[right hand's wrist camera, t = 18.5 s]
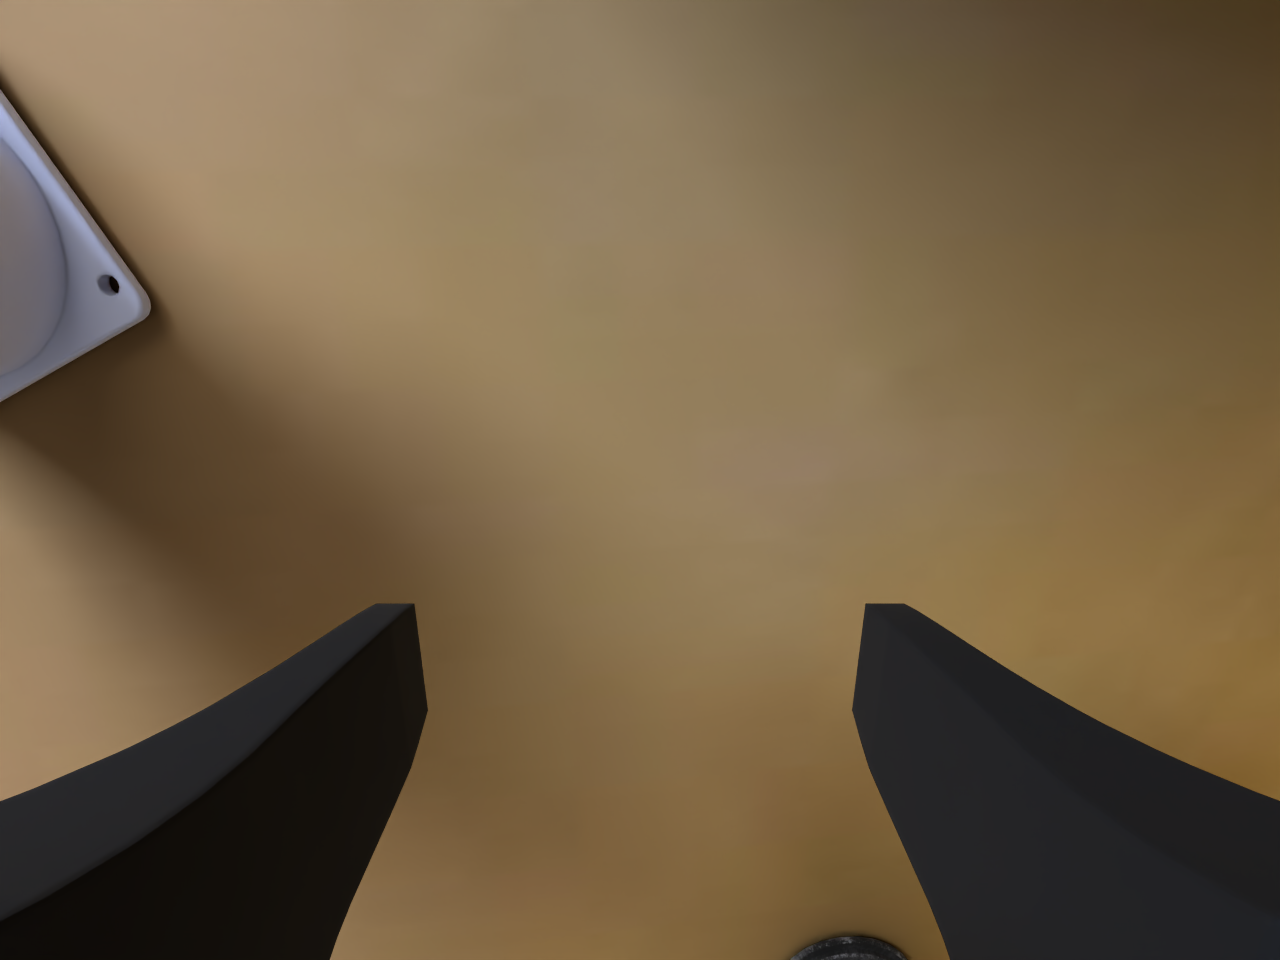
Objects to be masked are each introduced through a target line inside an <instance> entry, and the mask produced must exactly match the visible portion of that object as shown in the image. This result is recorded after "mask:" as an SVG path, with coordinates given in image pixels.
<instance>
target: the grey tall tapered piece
mask: <svg viewBox="0 0 1280 960" xmlns="http://www.w3.org/2000/svg"><path fill="white" fill-rule="evenodd" d="M790 960H907V959H906V957H905V956H904V955H903V953H901V952H900V951H898V950H897V949H896V948H894V947H893V946H891V945H890V944H887V943H884V942H882V941H879V940H876V939H872V938H865V937H858V936H854V937H837V938H833V939H829V940H824V941H820V942H818V943H816V944H814V945H811V946H809V947H807V948H805V949H803V950H802V951H801V952H799V953H798V954H796V955H795V956H794V957H792V958H791V959H790Z"/></svg>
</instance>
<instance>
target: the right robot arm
mask: <svg viewBox="0 0 1280 960" xmlns="http://www.w3.org/2000/svg"><path fill="white" fill-rule="evenodd" d="M111 276H113V277H114V278H115V279H116V280H117V282H118V284H119V292H118V293H116V292H114V291H113V290H112V289H111V287H110V284H109V278H110V277H111ZM150 310H151V304H150V299H149V297H148V295H147V293H146V292H145V291H144V289H143V288H142V286H141V285H140V284H139V282H138V281H137V279H136V278H135V277H134V275H133V274H132V272H131V271H130V270H129V268H128V267H127V265H126V264H125V263H124V261H123V260H122V258H121V257H120V256H119V254H118V253H117V251H116V250H115V249H114V247H113V246H112V245H111V243H110V242H109V240H108V239H107V238H106V236H105V235H104V233H103V232H102V231H101V229H100V228H99V226H98V225H97V224H96V222H95V221H94V219H93V218H92V217H91V215H90V214H89V212H88V211H87V210H86V208H85V207H84V205H83V204H82V203H81V201H80V200H79V198H78V197H77V196H76V194H75V193H74V192H73V190H72V189H71V187H70V186H69V185H68V183H67V182H66V180H65V179H64V178H63V176H62V175H61V173H60V172H59V171H58V169H57V168H56V166H55V165H54V164H53V162H52V161H51V159H50V158H49V157H48V155H47V154H46V152H45V151H44V150H43V148H42V147H41V145H40V144H39V143H38V141H37V140H36V138H35V137H34V136H33V134H32V133H31V132H30V130H29V129H28V127H27V126H26V125H25V123H24V122H23V120H22V119H21V118H20V116H19V115H18V113H17V112H16V111H15V109H14V108H13V106H12V105H11V104H10V102H9V101H8V99H7V98H6V97H5V95H4V94H3V92H2V91H1V90H0V402H1V401H3V400H5V399H7V398H8V397H10V396H12V395H14V394H15V393H17V392H19V391H20V390H22V389H24V388H26V387H27V386H29V385H31V384H33V383H34V382H36V381H38V380H40V379H41V378H43V377H45V376H47V375H48V374H50V373H52V372H54V371H55V370H57V369H59V368H61V367H62V366H64V365H66V364H67V363H69V362H71V361H73V360H74V359H76V358H78V357H80V356H81V355H83V354H85V353H87V352H88V351H90V350H92V349H94V348H95V347H97V346H99V345H101V344H102V343H104V342H106V341H108V340H109V339H111V338H113V337H114V336H116V335H118V334H120V333H121V332H123V331H125V330H127V329H128V328H130V327H132V326H134V325H135V324H137V323H139V322H141V321H142V320H144V319H145V318H146V317H147V316H148V315H149V313H150ZM427 711H428V708H427V700H426V692H425V684H424V676H423V668H422V660H421V652H420V644H419V636H418V629H417V621H416V613H415V605H414V604H375V605H373V606H371V607H369V608H367V609H365V610H364V611H362V612H360V613H359V614H357V615H355V616H354V617H352V618H351V619H349V620H347V621H346V622H344V623H343V624H341V625H340V626H338V627H337V628H335V629H334V630H332V631H330V632H329V633H327V634H326V635H324V636H323V637H321V638H320V639H318V640H317V641H315V642H314V643H312V644H311V645H309V646H307V647H306V648H304V649H303V650H301V651H300V652H298V653H297V654H295V655H294V656H292V657H290V658H289V659H287V660H286V661H284V662H283V663H281V664H280V665H278V666H276V667H275V668H273V669H272V670H270V671H268V672H267V673H265V674H263V675H261V676H260V677H258V678H256V679H255V680H253V681H251V682H250V683H248V684H246V685H245V686H243V687H241V688H240V689H238V690H236V691H235V692H233V693H231V694H230V695H228V696H226V697H224V698H223V699H221V700H219V701H218V702H216V703H214V704H213V705H211V706H209V707H207V708H205V709H204V710H202V711H200V712H198V713H196V714H194V715H193V716H191V717H189V718H187V719H185V720H183V721H181V722H179V723H177V724H176V725H174V726H172V727H169V728H167V729H165V730H163V731H161V732H159V733H157V734H155V735H153V736H151V737H149V738H147V739H145V740H143V741H141V742H139V743H137V744H135V745H133V746H131V747H129V748H127V749H124V750H122V751H120V752H118V753H116V754H113V755H111V756H109V757H106V758H104V759H102V760H99V761H97V762H95V763H92V764H90V765H88V766H85V767H83V768H81V769H78V770H76V771H74V772H71V773H69V774H67V775H64V776H62V777H60V778H57V779H55V780H53V781H50V782H48V783H46V784H43V785H41V786H39V787H36V788H34V789H31V790H29V791H26V792H24V793H21V794H19V795H16V796H13V797H11V798H8V799H5V800H3V801H0V960H330V957H331V954H332V951H333V948H334V945H335V942H336V940H337V937H338V934H339V932H340V929H341V927H342V924H343V922H344V919H345V917H346V914H347V912H348V909H349V907H350V904H351V902H352V900H353V897H354V895H355V893H356V891H357V888H358V886H359V884H360V882H361V880H362V877H363V875H364V873H365V871H366V868H367V866H368V864H369V862H370V859H371V857H372V855H373V853H374V851H375V848H376V846H377V844H378V842H379V839H380V837H381V835H382V833H383V830H384V828H385V826H386V824H387V822H388V819H389V817H390V815H391V813H392V810H393V808H394V806H395V803H396V801H397V799H398V797H399V794H400V792H401V790H402V788H403V785H404V783H405V781H406V778H407V776H408V774H409V771H410V769H411V766H412V763H413V760H414V756H415V753H416V750H417V747H418V743H419V740H420V736H421V733H422V729H423V726H424V722H425V718H426V715H427ZM852 711H853V715H854V718H855V722H856V726H857V729H858V733H859V736H860V740H861V743H862V747H863V750H864V753H865V756H866V760H867V763H868V766H869V769H870V771H871V774H872V776H873V778H874V781H875V783H876V785H877V788H878V790H879V792H880V794H881V797H882V799H883V801H884V803H885V806H886V808H887V810H888V813H889V815H890V817H891V819H892V822H893V824H894V826H895V828H896V830H897V833H898V835H899V837H900V839H901V842H902V844H903V846H904V848H905V851H906V853H907V855H908V857H909V859H910V862H911V864H912V866H913V868H914V871H915V873H916V875H917V877H918V880H919V882H920V884H921V886H922V888H923V891H924V893H925V895H926V897H927V900H928V902H929V904H930V907H931V909H932V912H933V914H934V917H935V919H936V922H937V924H938V927H939V929H940V932H941V934H942V937H943V940H944V942H945V945H946V948H947V951H948V954H949V957H950V960H1280V801H1278V800H1276V799H1273V798H1270V797H1268V796H1265V795H1262V794H1260V793H1257V792H1255V791H1252V790H1250V789H1247V788H1245V787H1242V786H1240V785H1237V784H1235V783H1233V782H1230V781H1228V780H1225V779H1223V778H1221V777H1218V776H1216V775H1213V774H1211V773H1209V772H1206V771H1204V770H1201V769H1199V768H1197V767H1194V766H1192V765H1189V764H1187V763H1185V762H1183V761H1180V760H1178V759H1176V758H1174V757H1172V756H1169V755H1167V754H1165V753H1163V752H1160V751H1158V750H1156V749H1154V748H1152V747H1150V746H1148V745H1146V744H1144V743H1142V742H1140V741H1138V740H1136V739H1134V738H1132V737H1130V736H1128V735H1126V734H1123V733H1121V732H1119V731H1117V730H1115V729H1113V728H1111V727H1109V726H1107V725H1105V724H1103V723H1101V722H1099V721H1098V720H1096V719H1094V718H1092V717H1090V716H1088V715H1086V714H1084V713H1082V712H1081V711H1079V710H1077V709H1075V708H1073V707H1072V706H1070V705H1068V704H1066V703H1065V702H1063V701H1061V700H1059V699H1058V698H1056V697H1054V696H1052V695H1051V694H1049V693H1047V692H1045V691H1044V690H1042V689H1040V688H1038V687H1037V686H1035V685H1033V684H1032V683H1030V682H1028V681H1027V680H1025V679H1024V678H1022V677H1020V676H1019V675H1017V674H1015V673H1014V672H1012V671H1011V670H1009V669H1007V668H1006V667H1004V666H1003V665H1001V664H999V663H998V662H996V661H995V660H993V659H992V658H990V657H988V656H987V655H985V654H984V653H982V652H981V651H979V650H978V649H976V648H974V647H973V646H971V645H970V644H968V643H967V642H965V641H964V640H962V639H961V638H959V637H958V636H956V635H955V634H953V633H952V632H950V631H948V630H947V629H945V628H944V627H942V626H941V625H939V624H938V623H936V622H935V621H933V620H931V619H930V618H928V617H927V616H925V615H923V614H922V613H920V612H918V611H917V610H915V609H913V608H911V607H910V606H908V605H906V604H866V605H865V613H864V621H863V628H862V636H861V644H860V652H859V660H858V668H857V676H856V684H855V692H854V700H853V708H852Z"/></svg>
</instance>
